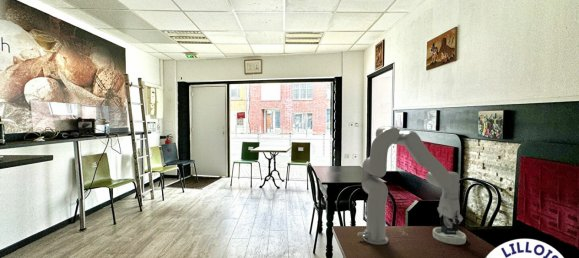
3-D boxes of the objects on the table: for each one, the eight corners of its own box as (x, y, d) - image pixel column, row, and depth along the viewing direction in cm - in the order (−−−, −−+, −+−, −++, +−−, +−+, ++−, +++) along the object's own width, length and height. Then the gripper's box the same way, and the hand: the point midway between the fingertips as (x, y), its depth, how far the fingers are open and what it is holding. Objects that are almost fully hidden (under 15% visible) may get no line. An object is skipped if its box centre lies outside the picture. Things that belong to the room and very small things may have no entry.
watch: (447, 236, 143) (448, 215, 142) (439, 229, 151) (440, 210, 151) (458, 236, 143) (459, 215, 142) (449, 230, 151) (450, 210, 150)
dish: (447, 245, 138) (447, 239, 138) (426, 233, 153) (426, 228, 153) (472, 243, 141) (473, 237, 141) (450, 231, 156) (450, 226, 156)
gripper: (432, 191, 154) (431, 222, 154) (457, 200, 137) (455, 234, 137) (443, 190, 155) (442, 221, 156) (469, 199, 138) (468, 233, 139)
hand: (448, 227), depth 147 cm, fingers closed on watch, 8 cm apart
